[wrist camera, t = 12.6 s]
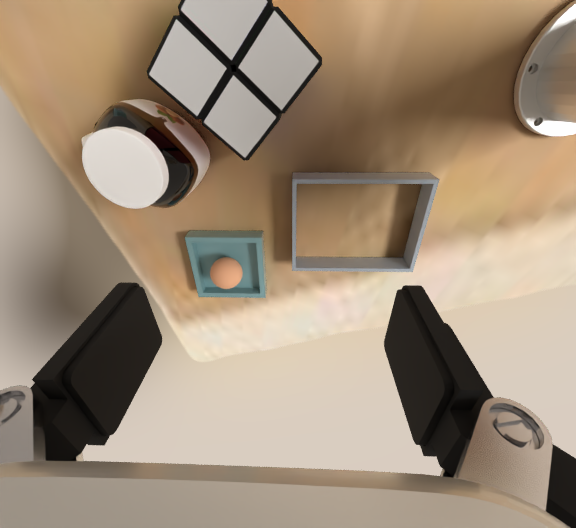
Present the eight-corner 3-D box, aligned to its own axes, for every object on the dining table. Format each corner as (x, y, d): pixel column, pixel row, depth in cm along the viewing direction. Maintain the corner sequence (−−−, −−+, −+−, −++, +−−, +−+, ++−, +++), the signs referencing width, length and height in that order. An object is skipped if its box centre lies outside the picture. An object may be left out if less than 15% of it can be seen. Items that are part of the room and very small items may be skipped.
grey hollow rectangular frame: (429, 172, 35) (439, 179, 32) (405, 260, 42) (412, 271, 39) (292, 172, 35) (292, 179, 33) (292, 259, 42) (292, 270, 40)
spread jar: (225, 151, 34) (196, 179, 24) (177, 214, 39) (137, 258, 29) (133, 70, 30) (54, 64, 20) (92, 152, 34) (12, 179, 25)
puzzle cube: (258, 143, 33) (246, 163, 25) (185, 77, 30) (142, 75, 22) (317, 66, 29) (325, 60, 21) (239, -21, 26) (212, -71, 17)
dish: (263, 230, 40) (261, 237, 38) (266, 289, 46) (265, 297, 44) (189, 230, 40) (184, 237, 38) (202, 288, 46) (198, 296, 44)
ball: (243, 251, 41) (237, 269, 37) (246, 276, 43) (240, 295, 40) (212, 250, 41) (203, 268, 37) (217, 275, 44) (208, 294, 40)
